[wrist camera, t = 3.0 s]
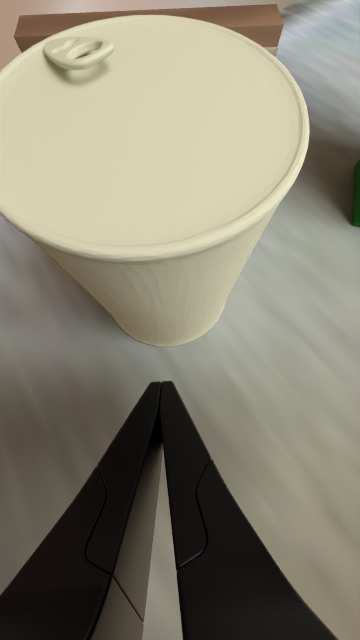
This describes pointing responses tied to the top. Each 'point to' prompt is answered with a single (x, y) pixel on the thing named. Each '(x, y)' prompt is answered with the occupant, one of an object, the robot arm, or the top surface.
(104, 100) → the can
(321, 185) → the top surface
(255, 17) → the brown box
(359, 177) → the milk carton
